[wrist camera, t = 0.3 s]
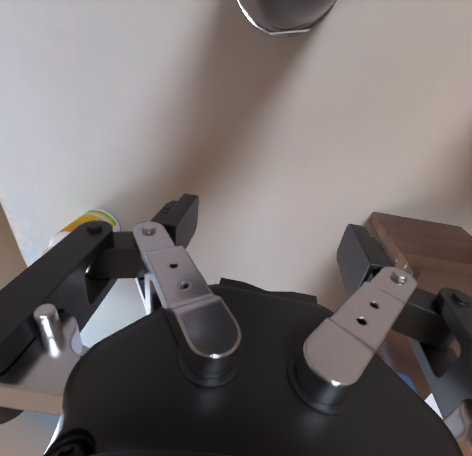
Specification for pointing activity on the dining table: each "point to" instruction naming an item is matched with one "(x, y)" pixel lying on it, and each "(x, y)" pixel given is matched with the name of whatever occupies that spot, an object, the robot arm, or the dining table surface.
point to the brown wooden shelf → (423, 277)
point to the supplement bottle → (88, 216)
